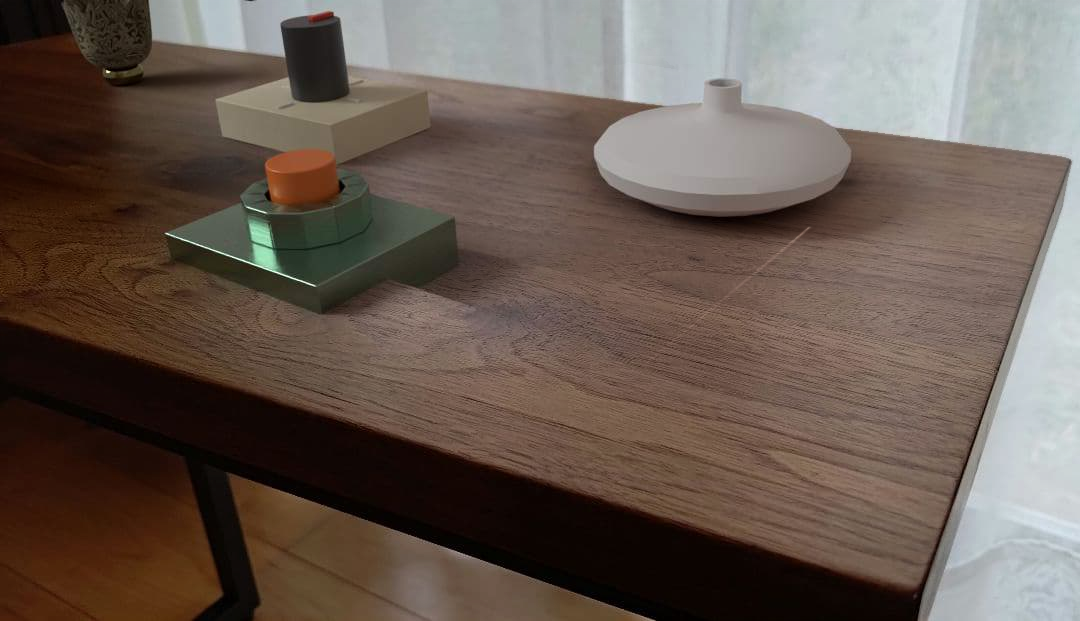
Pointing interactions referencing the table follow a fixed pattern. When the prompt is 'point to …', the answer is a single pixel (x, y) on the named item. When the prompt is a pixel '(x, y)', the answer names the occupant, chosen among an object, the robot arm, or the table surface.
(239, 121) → the dial panel
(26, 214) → the table surface
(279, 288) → the button base
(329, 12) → the dial
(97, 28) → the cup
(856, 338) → the table surface
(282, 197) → the orange push button
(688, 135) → the vase
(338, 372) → the table surface
